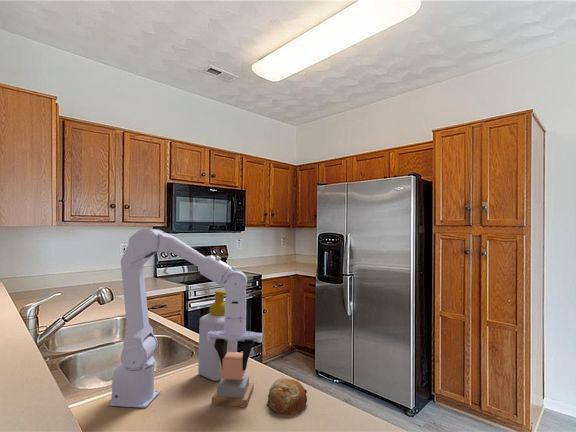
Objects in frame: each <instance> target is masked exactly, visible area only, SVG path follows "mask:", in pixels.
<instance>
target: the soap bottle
mask: <svg viewBox="0 0 576 432" xmlns="http://www.w3.org/2000/svg"><path fill="white" fill-rule="evenodd" d="M214 292H215V293H214V302H213V303H211V304H210V306H209V313H207V314H205V315H203V316H201V317H200V318H199V327H198V330H199V331H198V363H197V364H198V365H197V366H198V367H197V368H198V371H197V373H198V374H199V375H200V376H202V377H204V378H206V379H209V380H211V381H213V382H218V381H219V382H220V381H221V379H222V366H221V361H220V358H219V355H218V352H217V350H216V349H215V347H214V344H215V340H211V341H208V340H207V333H208V332H209V331H224V321H225V298H224V296H226V290H221V289H220V290H215V291H214ZM227 352H238V341H229V340H228V343H227Z"/></svg>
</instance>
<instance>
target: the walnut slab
mask: <svg viewBox="0 0 576 432" xmlns="http://www.w3.org/2000/svg"><path fill="white" fill-rule="evenodd" d="M254 386H255V385H254V382H253V383H252V382H249V386H248V389H247V391H246V394H245V396H244V398H238V397H217V389H216V390H215V392H214V393H213V395H212V397H211V406H220V407H221V406H225V407H237V406H242V407H241V408H247V407H248V405H249V402H250V401H251V400H250V399H251V398H252V394H253V392H254ZM243 406H244V407H243Z"/></svg>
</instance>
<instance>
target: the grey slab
mask: <svg viewBox="0 0 576 432" xmlns="http://www.w3.org/2000/svg"><path fill="white" fill-rule="evenodd" d="M249 383H250V375H246V374H244V375H243V377H242V379H241V380H236V379H221V380H219V382H218V384H217V386H216V390H217V397H238V398H244V396H245V394H246V391H247V389H248V386H249Z"/></svg>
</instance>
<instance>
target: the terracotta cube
mask: <svg viewBox="0 0 576 432" xmlns="http://www.w3.org/2000/svg"><path fill="white" fill-rule="evenodd" d="M245 373H246V370H243V352H238V351H237V352H227V354H226V355H225V357H224V358H223V369H222V379H236V380H241V379H242V377H243V375H245Z"/></svg>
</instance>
